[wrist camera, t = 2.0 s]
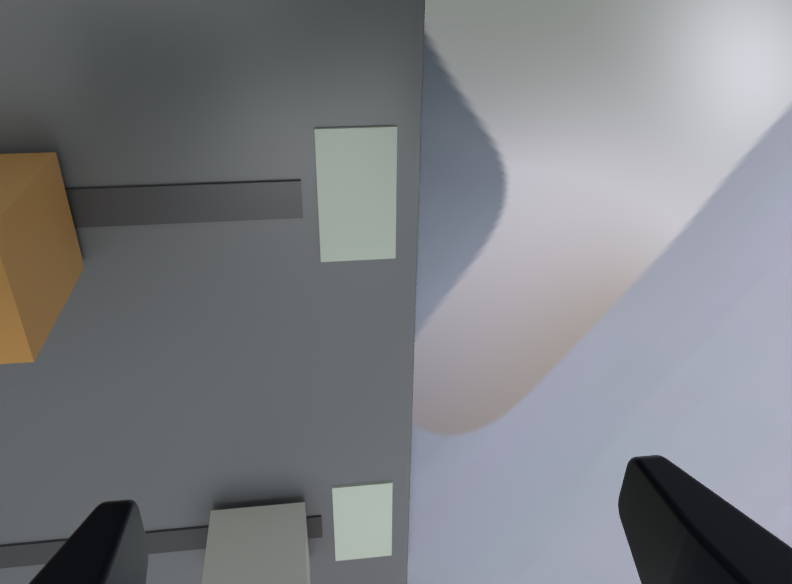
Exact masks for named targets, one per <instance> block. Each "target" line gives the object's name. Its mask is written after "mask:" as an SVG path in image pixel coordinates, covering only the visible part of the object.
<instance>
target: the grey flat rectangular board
mask: <svg viewBox="0 0 792 584" xmlns="http://www.w3.org/2000/svg"><path fill="white" fill-rule="evenodd" d="M424 11H425V0H0V154H14V153H46V152H56V155H57V159H58V163H59V167H60V171H61V175H62V179H63V183H64V187H65V191H66V195H67V199H68V203H69V207H70V211H71V215H72V219H73V223H74V227H75V231H76V235H77V239H78V243H79V247H80V251H81V255H82V259H83V263H84V269H83V271H82V273H81V275H80V277H79V279H78V280H77V282H76V284H75V286H74V288H73V290H72V292H71V294H70V295H69V297H68V299H67V301H66V303H65V305H64V307H63V309H62V310H61V312H60V314H59V316H58V318H57V320H56V322H55V324H54V325H53V327H52V329H51V331H50V333H49V335H48V337H47V339H46V341H45V342H44V344H43V346H42V348H41V350H40V352H39V354H38V356H37V357H36V359H35V361H34V362H26V363H10V364H0V584H29V583H30V581H31V580H32V579H33V578H34V577H35V576H36V575H37V573H38V572H39V571H40V570H41V569H42V568H43V567H44V566H45V564H46V563H47V562H48V561H49V560H50V559H51V558H52V556H53V555H54V554H55V553H56V552H57V551H58V550H59V548H60V547H61V546H62V545H63V544H64V543H65V542H66V541H67V539H68V538H69V537H70V536H71V535H72V534H73V533H74V531H75V530H76V529H77V528H78V527H79V526H80V525H81V523H82V522H83V521H84V520H85V519H86V518H87V517H88V516H89V514H90V513H91V512H92V511H93V510H94V509H95V508H96V507H97V506H98V505H99V504H101V503H102V502H106V501H117V500H129V499H130V500H134V501H135V502H136V503H137V505H138V507H139V511H140V515H141V519H142V523H143V527H144V531H145V535H146V539H147V543H148V568H147V577H146V584H201V583H202V576H203V568H204V560H205V552H206V544H207V536H208V528H209V520H210V513H211V511H212V510H223V509H234V508H245V507H256V506H267V505H278V504H289V503H300V502H305V509H306V522H307V534H308V547H309V560H310V584H407V564H408V531H409V499H410V466H411V434H412V401H413V369H414V368H413V367H414V337H415V304H416V272H417V239H418V207H419V175H420V142H421V110H422V77H423V45H424Z"/></svg>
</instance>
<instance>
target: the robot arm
mask: <svg viewBox="0 0 792 584" xmlns="http://www.w3.org/2000/svg"><path fill="white" fill-rule="evenodd" d="M618 508H619V515H620V519H621V522H622V525H623V528H624V531H625V534H626V537H627V540H628V543H629V546H630V550H631V553H632V556H633V559H634V562H635V565H636V568H637V571H638V574H639V577H640V580H641V583H642V584H792V548H791V547H790V546H789V545H787V544H786V543H784V542H783V541H781V540H780V539H779V538H777V537H776V536H774V535H773V534H772V533H770V532H769V531H767V530H766V529H765V528H763V527H762V526H760V525H759V524H758V523H756V522H755V521H753V520H752V519H751V518H749V517H748V516H746V515H745V514H744V513H742V512H741V511H739V510H738V509H737V508H735V507H734V506H732V505H731V504H729V503H728V502H727V501H725V500H724V499H722V498H721V497H720V496H718V495H717V494H715V493H714V492H713V491H711V490H710V489H708V488H707V487H706V486H704V485H703V484H701V483H700V482H699V481H697V480H696V479H694V478H693V477H692V476H690V475H689V474H687V473H686V472H684V471H683V470H682V469H680V468H679V467H677V466H676V465H675V464H673V463H672V462H670V461H669V460H668V459H666V458H664V457H662V456H659V455H652V456H640V457H634V458H632V459H631V460H630V461H629V462H628V465H627V468H626V472H625V476H624V480H623V484H622V488H621V491H620V495H619V501H618ZM147 568H148V543H147V539H146V535H145V531H144V527H143V523H142V519H141V515H140V511H139V507H138V505H137V503H136V502H135V501H134V500H130V499H129V500H117V501H106V502H102V503H101V504H99V505H98V506H97V507H96V508H95V509H94V510H93V511H92V512H91V513H90V514H89V516H88V517H87V518H86V519H85V520H84V521H83V522H82V523H81V525H80V526H79V527H78V528H77V529H76V530H75V531H74V533H73V534H72V535H71V536H70V537H69V538H68V539H67V541H66V542H65V543H64V544H63V545H62V546H61V547H60V548H59V550H58V551H57V552H56V553H55V554H54V555H53V556H52V558H51V559H50V560H49V561H48V562H47V563H46V564H45V566H44V567H43V568H42V569H41V570H40V571H39V572H38V573H37V575H36V576H35V577H34V578H33V579H32V580H31V581H30V583H29V584H146V577H147Z"/></svg>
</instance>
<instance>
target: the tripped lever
mask: <svg viewBox="0 0 792 584" xmlns="http://www.w3.org/2000/svg"><path fill="white" fill-rule="evenodd" d="M83 269H84V263H83V259H82V255H81V251H80V247H79V243H78V239H77V235H76V231H75V227H74V223H73V219H72V215H71V211H70V207H69V203H68V199H67V195H66V191H65V187H64V183H63V179H62V175H61V171H60V167H59V163H58V159H57V155H56V152H46V153H14V154H0V364H10V363H26V362H34V361H35V359H36V357H37V356H38V354H39V352H40V350H41V348H42V346H43V344H44V342H45V341H46V339H47V337H48V335H49V333H50V331H51V329H52V327H53V325H54V324H55V322H56V320H57V318H58V316H59V314H60V312H61V310H62V309H63V307H64V305H65V303H66V301H67V299H68V297H69V295H70V294H71V292H72V290H73V288H74V286H75V284H76V282H77V280H78V279H79V277H80V275H81V273H82V271H83Z"/></svg>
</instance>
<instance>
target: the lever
mask: <svg viewBox="0 0 792 584" xmlns="http://www.w3.org/2000/svg"><path fill="white" fill-rule="evenodd" d="M201 584H310V560H309V547H308V534H307V522H306V509H305V502H300V503H289V504H278V505H267V506H256V507H245V508H234V509H223V510H212V511H211V513H210V520H209V528H208V536H207V544H206V552H205V560H204V568H203V576H202V583H201Z"/></svg>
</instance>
